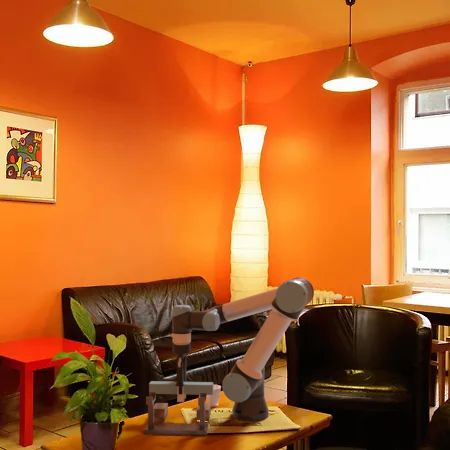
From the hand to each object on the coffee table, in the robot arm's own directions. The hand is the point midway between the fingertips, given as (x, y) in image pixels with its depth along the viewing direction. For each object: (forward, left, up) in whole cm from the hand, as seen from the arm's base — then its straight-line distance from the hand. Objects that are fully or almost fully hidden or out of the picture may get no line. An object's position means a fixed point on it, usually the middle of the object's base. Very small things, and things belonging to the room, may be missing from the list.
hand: (181, 399), depth 238 cm
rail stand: (0, +14, -8) cm, 16 cm away
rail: (0, 0, +3) cm, 3 cm away
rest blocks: (0, 0, -8) cm, 8 cm away
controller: (+22, +21, -8) cm, 31 cm away
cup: (-10, -18, -8) cm, 22 cm away
